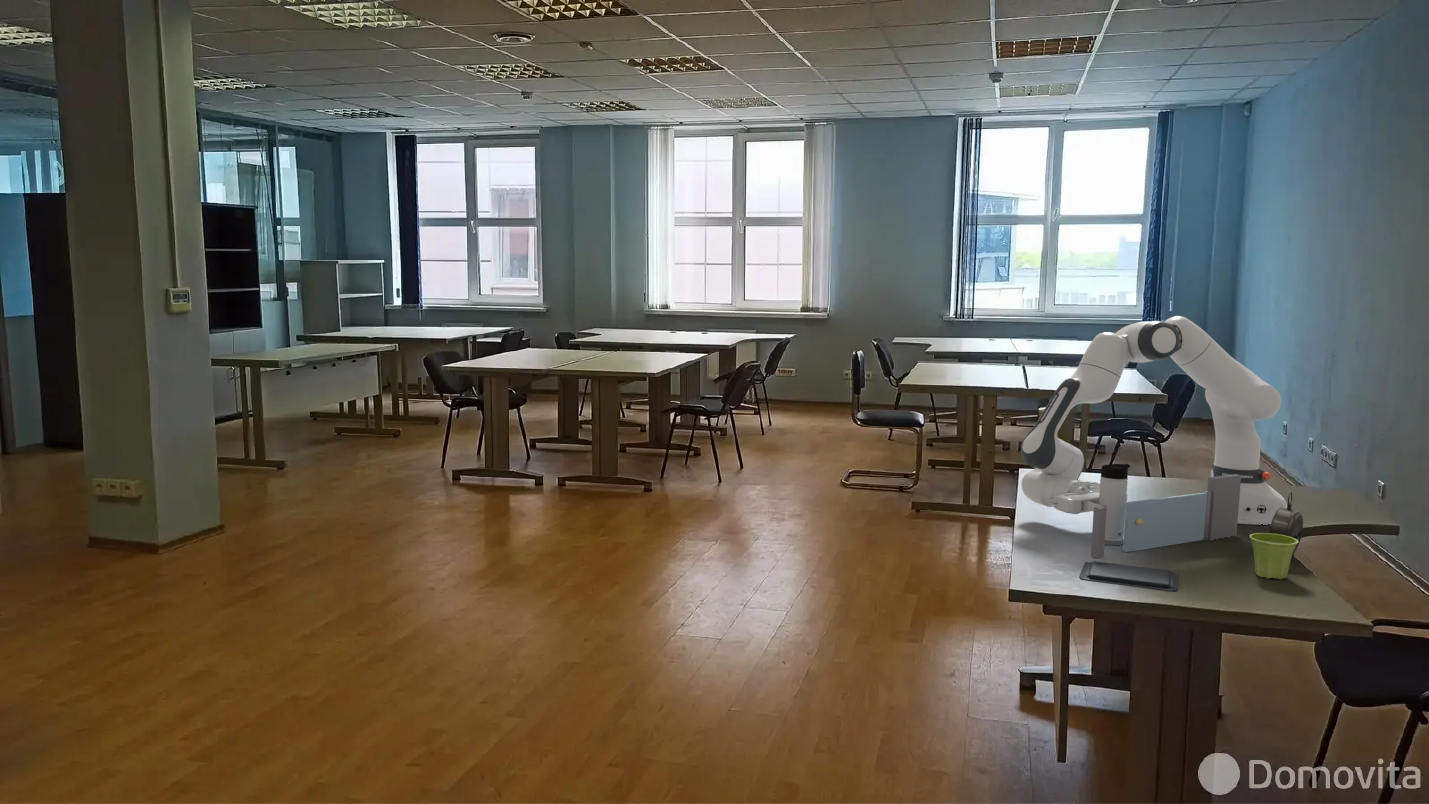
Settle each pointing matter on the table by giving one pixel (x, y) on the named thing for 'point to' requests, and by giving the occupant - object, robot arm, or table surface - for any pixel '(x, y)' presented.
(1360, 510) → the table surface
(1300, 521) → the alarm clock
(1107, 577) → the dark grey book
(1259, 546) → the plant pot
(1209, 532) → the pair of grey slabs
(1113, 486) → the travel mug
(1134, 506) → the door
